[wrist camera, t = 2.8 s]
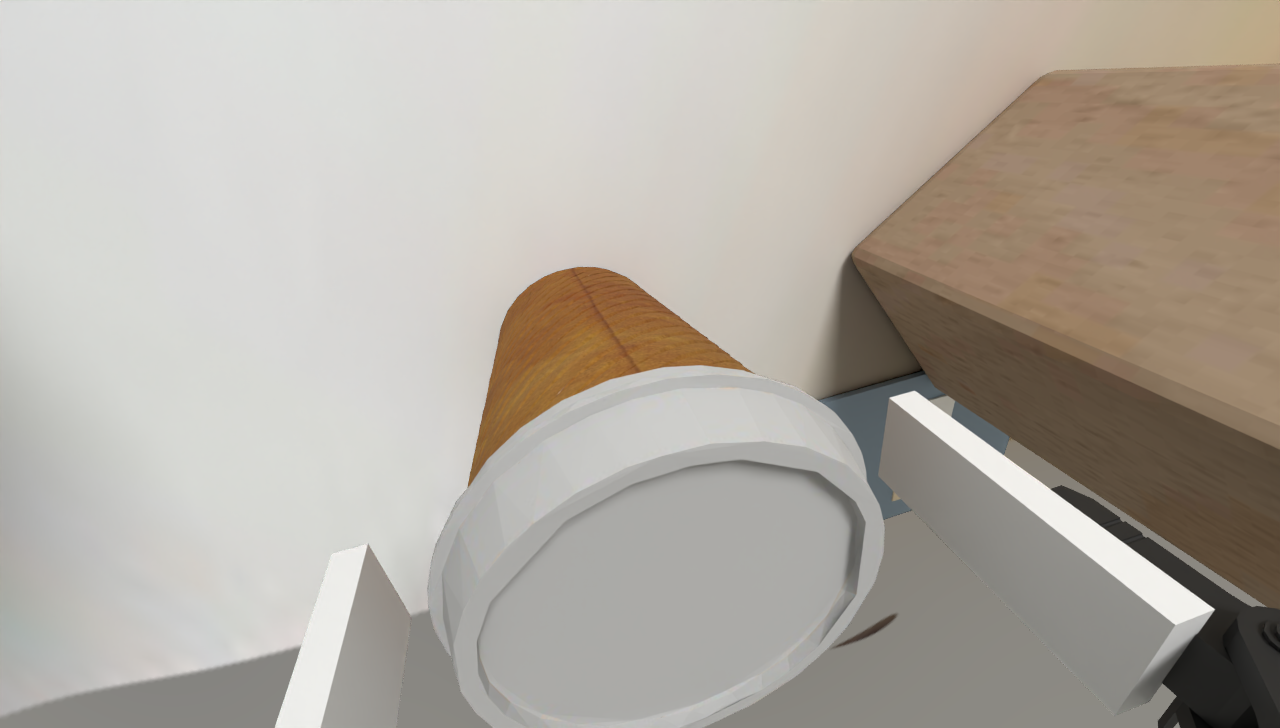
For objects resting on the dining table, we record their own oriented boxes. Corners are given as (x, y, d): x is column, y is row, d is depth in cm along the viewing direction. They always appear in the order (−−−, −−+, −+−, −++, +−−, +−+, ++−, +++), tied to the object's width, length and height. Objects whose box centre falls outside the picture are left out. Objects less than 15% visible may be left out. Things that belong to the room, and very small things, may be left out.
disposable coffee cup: (647, 456, 24) (773, 742, 14) (427, 425, 20) (376, 788, 10) (735, 264, 20) (994, 458, 10) (488, 181, 16) (505, 358, 6)
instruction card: (721, 568, 29) (724, 574, 29) (711, 430, 24) (714, 436, 24) (990, 479, 32) (996, 483, 32) (1034, 339, 27) (1041, 342, 27)
